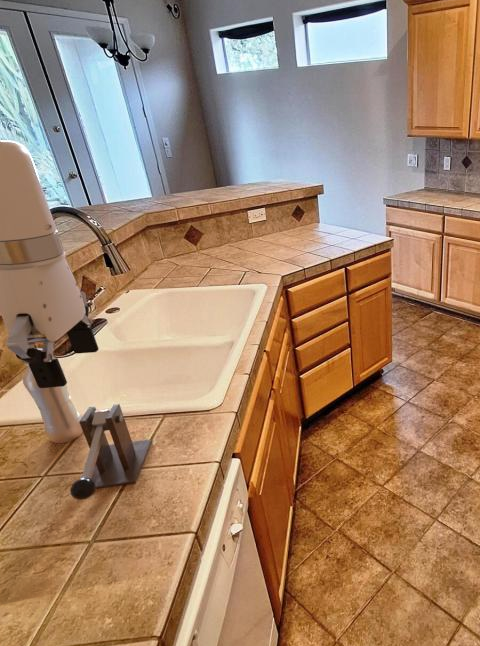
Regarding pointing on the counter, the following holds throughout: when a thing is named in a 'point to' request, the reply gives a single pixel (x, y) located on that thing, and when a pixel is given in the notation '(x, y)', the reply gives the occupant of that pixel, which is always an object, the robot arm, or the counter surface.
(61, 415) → the plastic bottle
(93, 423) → the tap lever
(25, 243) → the robot arm
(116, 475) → the bracket
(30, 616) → the counter surface
